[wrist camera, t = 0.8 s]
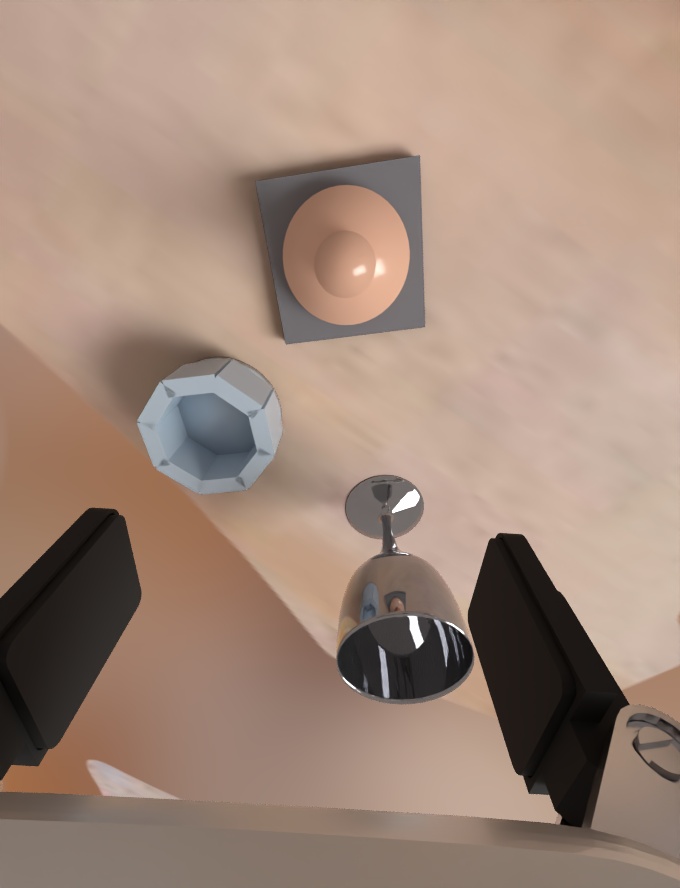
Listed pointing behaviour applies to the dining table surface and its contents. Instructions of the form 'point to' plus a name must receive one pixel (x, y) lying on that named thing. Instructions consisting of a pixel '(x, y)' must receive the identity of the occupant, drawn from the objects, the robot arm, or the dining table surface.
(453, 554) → the dining table surface
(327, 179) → the mat
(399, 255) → the lid
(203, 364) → the bowl
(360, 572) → the wine glass
